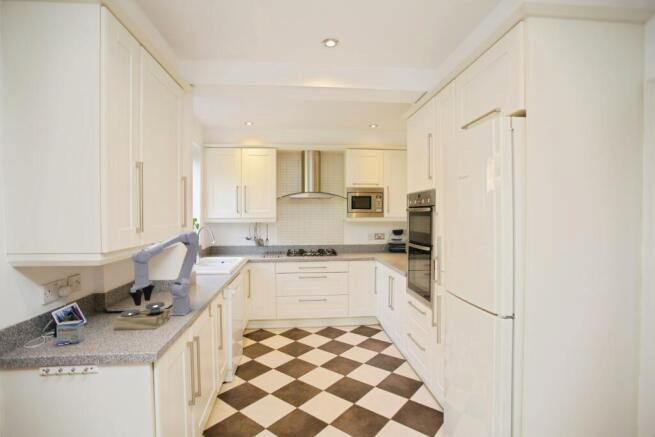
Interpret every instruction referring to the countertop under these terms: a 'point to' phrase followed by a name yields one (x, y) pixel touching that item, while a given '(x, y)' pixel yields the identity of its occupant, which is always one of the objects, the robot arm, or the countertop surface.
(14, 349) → the countertop surface
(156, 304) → the peg
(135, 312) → the peg
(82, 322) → the medicine box
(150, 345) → the countertop surface
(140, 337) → the countertop surface
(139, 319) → the block
